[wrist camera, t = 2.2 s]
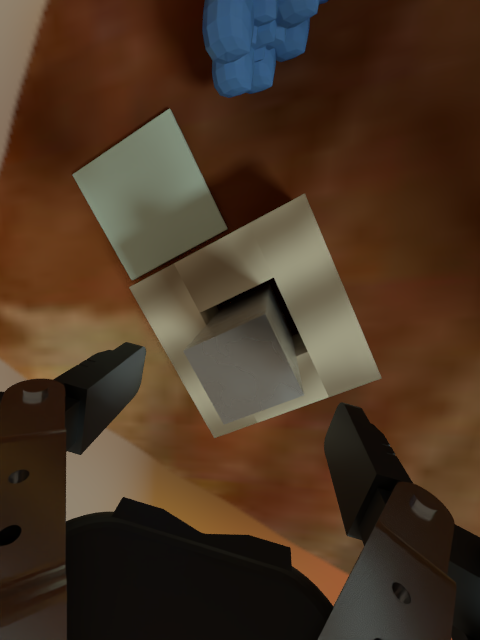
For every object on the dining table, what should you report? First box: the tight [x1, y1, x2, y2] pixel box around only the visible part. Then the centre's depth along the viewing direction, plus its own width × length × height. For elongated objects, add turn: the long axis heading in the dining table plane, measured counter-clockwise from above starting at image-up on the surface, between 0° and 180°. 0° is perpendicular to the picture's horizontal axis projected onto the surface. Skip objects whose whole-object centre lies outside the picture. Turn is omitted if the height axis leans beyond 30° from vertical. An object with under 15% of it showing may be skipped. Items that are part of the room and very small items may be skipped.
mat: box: [73, 108, 228, 280], centre depth 23 cm, size 10×10×1 cm
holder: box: [129, 194, 381, 438], centre depth 23 cm, size 14×14×5 cm
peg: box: [183, 283, 304, 424], centre depth 19 cm, size 4×4×12 cm
